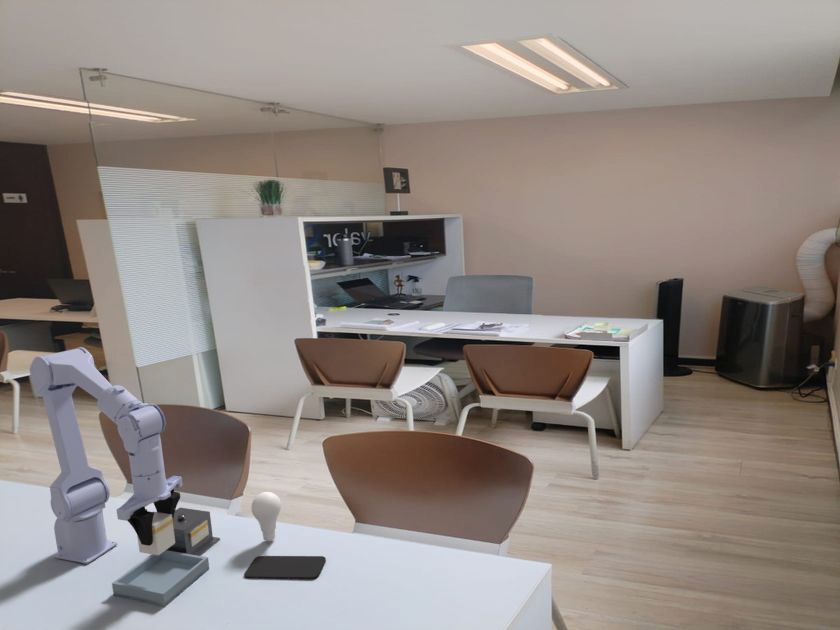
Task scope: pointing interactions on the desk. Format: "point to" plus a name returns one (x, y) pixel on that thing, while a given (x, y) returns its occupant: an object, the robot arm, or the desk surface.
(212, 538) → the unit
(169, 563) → the tray
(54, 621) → the desk surface
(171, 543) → the part block
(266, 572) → the phone
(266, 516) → the lightbulb
